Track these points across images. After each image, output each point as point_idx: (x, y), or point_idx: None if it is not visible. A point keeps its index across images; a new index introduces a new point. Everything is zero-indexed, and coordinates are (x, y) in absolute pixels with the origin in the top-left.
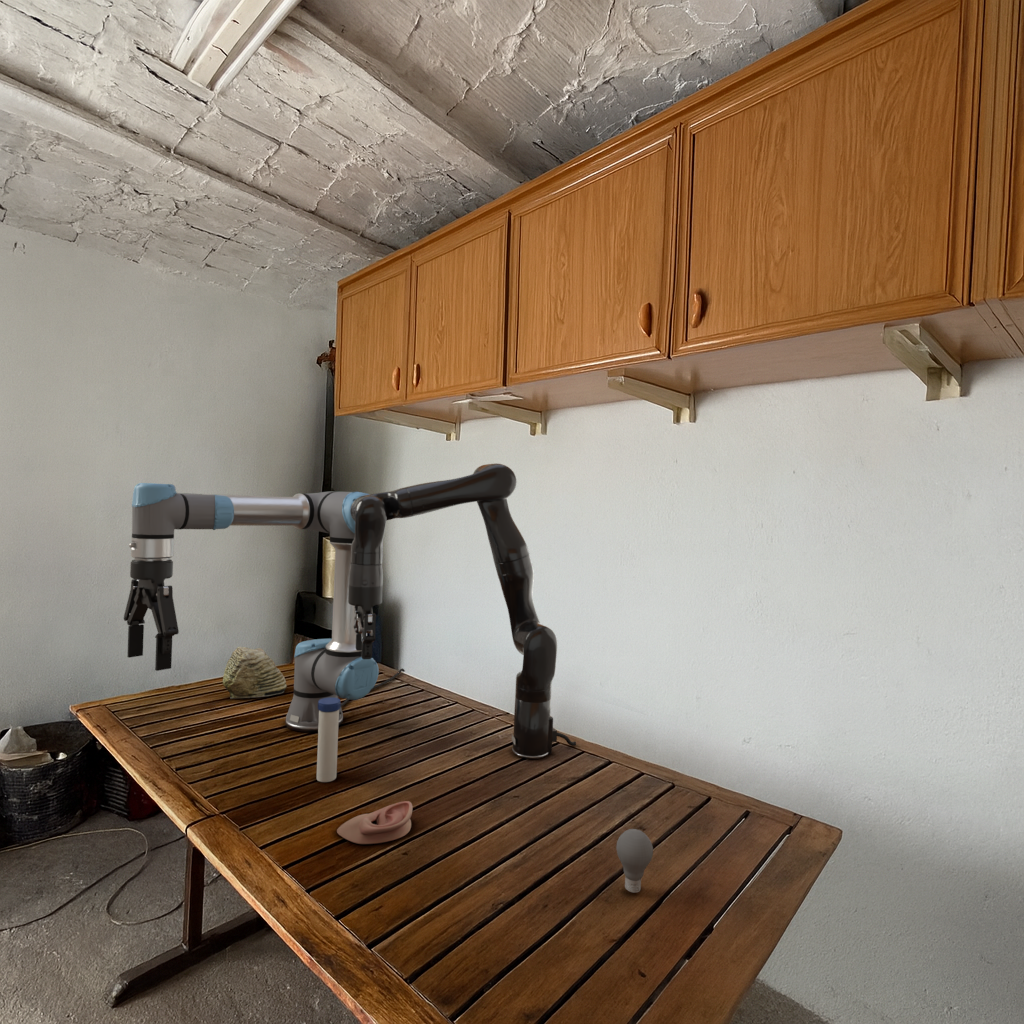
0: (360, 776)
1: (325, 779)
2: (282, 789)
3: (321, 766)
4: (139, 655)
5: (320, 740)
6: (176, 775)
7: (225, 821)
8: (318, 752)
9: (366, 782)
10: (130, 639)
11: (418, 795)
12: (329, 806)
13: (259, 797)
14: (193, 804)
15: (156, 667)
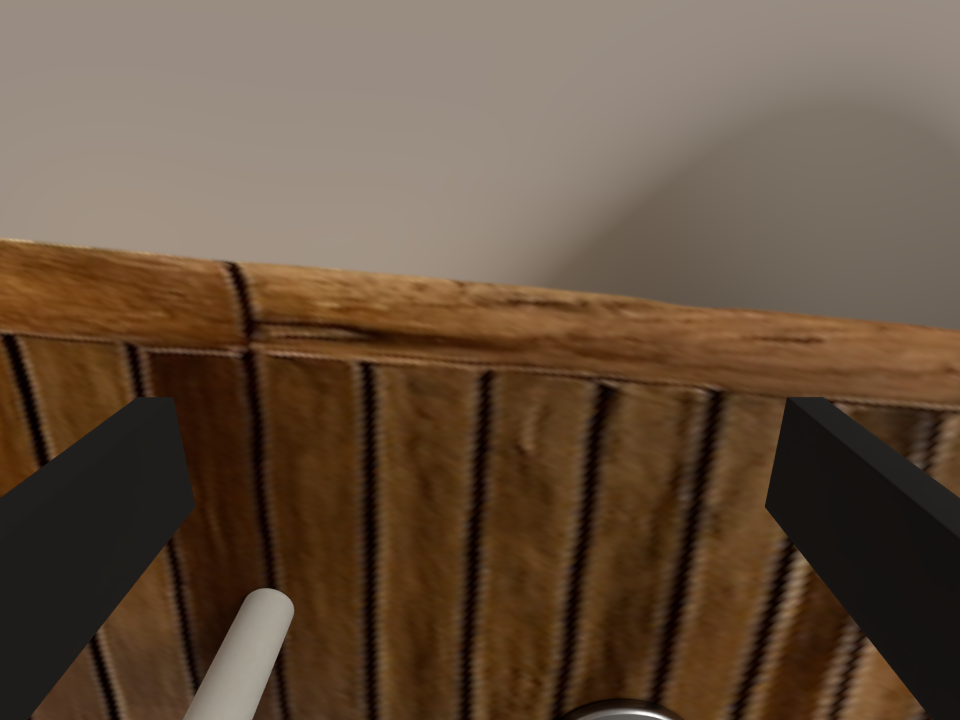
0: None
1: (245, 600)
2: (279, 512)
3: (241, 620)
4: (772, 484)
5: (216, 682)
6: (566, 370)
7: (195, 339)
8: (240, 649)
9: (186, 650)
10: (912, 513)
11: None
12: None
13: (272, 455)
14: (347, 324)
15: (128, 409)
